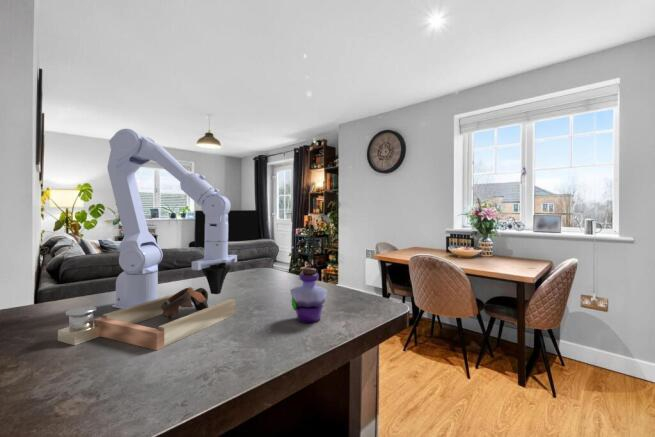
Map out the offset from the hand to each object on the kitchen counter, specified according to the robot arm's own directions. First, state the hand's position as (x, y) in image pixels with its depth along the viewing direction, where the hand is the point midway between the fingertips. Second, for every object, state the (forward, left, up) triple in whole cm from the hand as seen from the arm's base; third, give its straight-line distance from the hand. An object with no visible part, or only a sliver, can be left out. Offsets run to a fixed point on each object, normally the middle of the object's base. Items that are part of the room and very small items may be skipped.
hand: (215, 293), depth 80 cm
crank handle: (-9, -1, -4) cm, 10 cm away
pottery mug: (+1, -9, -4) cm, 10 cm away
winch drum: (-9, -26, -3) cm, 28 cm away
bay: (0, -13, -3) cm, 13 cm away
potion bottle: (+26, +1, -4) cm, 26 cm away
